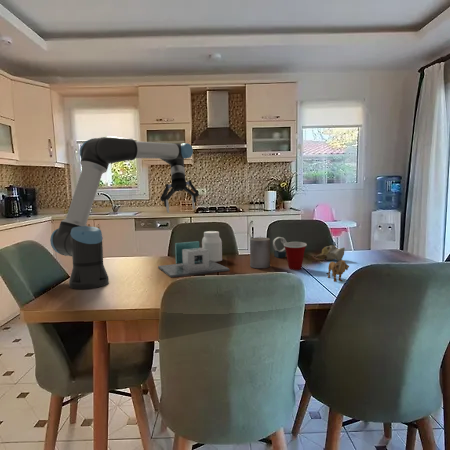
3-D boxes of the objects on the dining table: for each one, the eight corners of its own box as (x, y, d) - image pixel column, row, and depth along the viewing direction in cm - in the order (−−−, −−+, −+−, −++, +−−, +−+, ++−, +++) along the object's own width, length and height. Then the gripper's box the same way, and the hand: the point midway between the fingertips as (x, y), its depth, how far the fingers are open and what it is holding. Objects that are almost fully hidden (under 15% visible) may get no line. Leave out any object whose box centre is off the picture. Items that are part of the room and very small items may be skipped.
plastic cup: (281, 270, 169) (281, 244, 168) (285, 265, 180) (285, 241, 178) (305, 271, 166) (305, 245, 165) (308, 266, 176) (308, 242, 175)
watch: (288, 257, 201) (289, 237, 199) (275, 258, 198) (275, 238, 197) (284, 255, 206) (284, 236, 205) (271, 256, 204) (271, 236, 203)
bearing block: (171, 277, 159) (170, 254, 158) (158, 267, 179) (157, 247, 178) (229, 270, 171) (229, 249, 170) (211, 262, 191) (210, 243, 190)
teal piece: (183, 268, 168) (182, 246, 167) (175, 263, 179) (175, 243, 178) (207, 265, 173) (207, 244, 172) (198, 261, 184) (198, 241, 183)
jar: (223, 261, 193) (222, 232, 191) (205, 262, 190) (204, 233, 189) (218, 257, 204) (217, 230, 202) (201, 258, 202) (200, 231, 200)
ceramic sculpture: (341, 245, 182) (312, 245, 191) (341, 263, 183) (313, 261, 191) (347, 243, 191) (319, 242, 200) (348, 259, 192) (320, 258, 200)
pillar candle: (258, 263, 185) (258, 234, 184) (274, 266, 178) (274, 235, 177) (245, 266, 179) (245, 236, 177) (261, 269, 172) (261, 238, 170)
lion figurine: (350, 283, 146) (351, 260, 145) (338, 284, 144) (338, 261, 143) (331, 274, 160) (332, 254, 159) (320, 275, 159) (320, 255, 158)
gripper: (201, 176, 202) (205, 209, 192) (157, 182, 202) (158, 216, 193) (199, 168, 195) (203, 202, 185) (153, 175, 196) (155, 209, 186)
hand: (180, 209), depth 189 cm, fingers open, 13 cm apart
